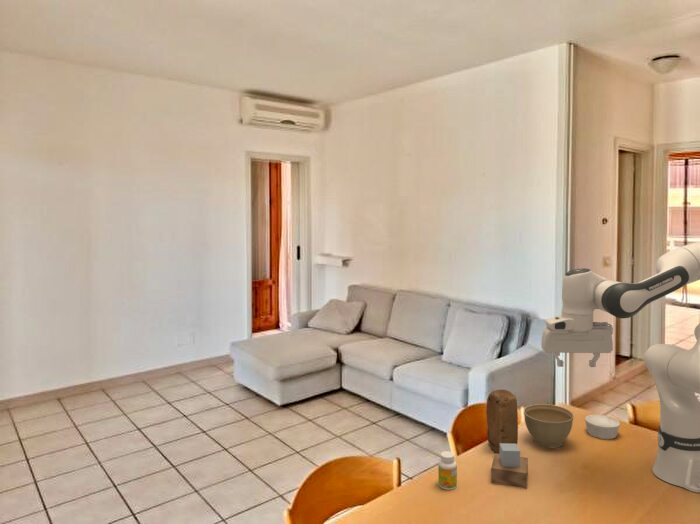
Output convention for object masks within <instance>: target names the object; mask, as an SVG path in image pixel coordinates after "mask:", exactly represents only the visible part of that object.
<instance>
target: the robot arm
mask: <svg viewBox="0 0 700 524" xmlns="http://www.w3.org/2000/svg"><path fill="white" fill-rule="evenodd" d="M655 271H656V274H654V275H652V276H650V277H647V278H645V279H643V280H640V281H639V282H634V283H628V282H622V281H616V280H615V279H614V280H613V279H609V278H607V277H603V276H602V275H599V274H597V273H595V272H594V271H592V269H590V268H585V267H584V268H574V269H570V270H569V271H567V272H566V273H565V274H564V277H563V280H562V288H561V300H562V308H561V314H559V315H556V316H553V317H549V318H546V319H545V323H544V324H545V325H546V326H545V328H544V329H543V330H542V335H541V343H540V344H541V349H542V350H543V351H544V352H545V353H550V354H551V353H553V357H555V359H556V366H557V367H559V368H560V367H561V368H562V367H564V364H565V363H564V361H563V359H561V358H560V357H561V354H562V353H564V354H567V353H568V354H592V355H593V357H592V359H589V360H588V367H590V368H596V367H597V362H598V360H599V359H600V358H601V354H610V353H612V351H614V343H613V334H614V327H613V325H612V324H611V323H608V321H603V322H602V321H601V322H600V321H594V311H595V310H600V311H602V312H605V313H607V314H610V315H612V316H614V317H616V318H618V319H629V318H632V317H633V316H635V315H637V314H639V312H641V310H643V309H644V308H645V306H647V305H648V304H650V303H653V302H654V301H656V300H659V299H660V298H663V297H665V296H667V295H669V294H672V293H673V292H676V291H678V290H680V289H681V288H683V287H684V286H687V285H690V284H692V283H694V282H698V281H699V280H700V241H696V242H693V243H689V244H686V245H683V246H680V247H676V248H675V249H672V250H670V251H668V252H666V253H664V254H662V255H660V257H658V259H657V260H656V265H655ZM693 333H694V337H695V339H696V342H695V344H694V345H693V347H692V348H689V349H686V348H683V347H680V346H677V345H673V344H667V343H656V344H652V345H650V347H648V348H647V350H646V351H645V354H644V358H643V360H644V361H643V362H644V365H645V367H646V369H647V370H648V371H649V373H650V374H651V376H652V378H653V381H654V383H655V386H656V390H657V395H658V398H659V406H660V407H659V409H660V411H659V412H660V413H659V414H660V416H659V417H660V419H659V421H660V422H659V423H660V424H659V426H658V431H657V432H658V433H657V445H658V446H657V449H658V450H657V454H656V458H655V461H654V464H653V466H652V469H651V471H652V473H653V474H654V475H655V476H656V477H657V478H659V479H660V480H662V481H663V482H666V483H668V484H671V485H673V486H676V487H677V486H678V487H681V488H684V489H687V491H691V492H693V493H700V400H699V398H698V397H697V395H696V394H699V395H700V322H699V323H698V324H697V325H696V326H695V328H694V332H693Z"/></svg>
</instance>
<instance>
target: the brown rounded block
mask: <svg viewBox="0 0 700 524" xmlns="http://www.w3.org/2000/svg"><path fill="white" fill-rule="evenodd" d="M517 401H518V400H517V396H516V395H515V394H513V393H512V392H511V391H509V390H506V389H496V390H492V391H491V392H490V393H489V394H488V396H487V398H486V407H485V408H486V409H485V411H486V424H487V425H486V426H487V430H486V431H487V432H486V433H487V434H486V435H487V442H488V444H489V446H490V448H491V449H492V450H493V451H494V452H495V453H497V454H500V443H508V444H517V445H518V442H519V440H518V436H519V423H518V421H519V417H518V414H519V413H518V412H519V411H518V402H517Z"/></svg>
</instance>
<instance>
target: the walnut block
mask: <svg viewBox="0 0 700 524" xmlns="http://www.w3.org/2000/svg"><path fill="white" fill-rule="evenodd" d="M499 458H500V454H499V453H497V452H495V453H494V455H493V459H492V463H491V471H490V473H491V475H490V476H491V478H490V479H491V482H490V483H491V484H497V485H502V486H508V487H515V488H520V489H527V487H528V472H529V471H528V470H529V469H528V467H529V463H528V462H529V457H523V456H520V467H503V466H502V464H501V461H500V459H499Z"/></svg>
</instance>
